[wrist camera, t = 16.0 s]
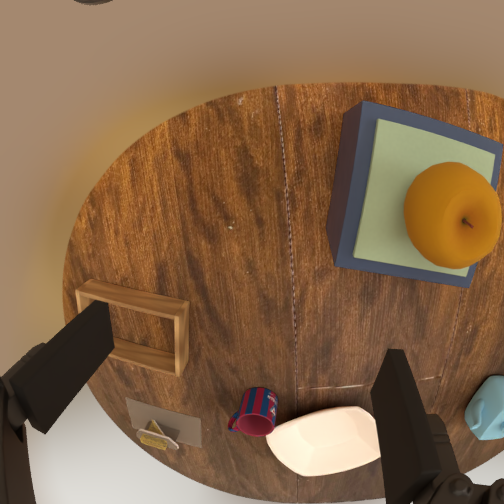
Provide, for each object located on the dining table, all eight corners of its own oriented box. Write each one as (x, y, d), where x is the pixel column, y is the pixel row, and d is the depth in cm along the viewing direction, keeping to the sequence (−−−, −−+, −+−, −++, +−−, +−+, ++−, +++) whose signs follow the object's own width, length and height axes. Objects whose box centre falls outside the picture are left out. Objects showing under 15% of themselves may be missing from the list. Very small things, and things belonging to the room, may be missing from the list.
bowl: (300, 463, 62) (299, 481, 57) (255, 411, 57) (251, 430, 52) (390, 438, 56) (393, 456, 51) (362, 377, 51) (365, 397, 46)
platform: (125, 397, 63) (112, 416, 57) (200, 418, 61) (192, 441, 54) (132, 427, 67) (122, 446, 61) (201, 447, 65) (194, 468, 59)
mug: (284, 405, 56) (281, 431, 49) (240, 417, 59) (233, 442, 52) (267, 382, 54) (262, 409, 48) (222, 396, 57) (213, 422, 51)
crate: (343, 113, 38) (362, 100, 25) (450, 140, 36) (503, 144, 23) (325, 228, 44) (334, 266, 31) (428, 247, 42) (469, 288, 29)
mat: (376, 119, 25) (378, 118, 25) (491, 154, 24) (495, 154, 23) (352, 254, 30) (353, 257, 29) (463, 274, 28) (466, 277, 28)
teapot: (469, 367, 47) (491, 407, 37) (523, 372, 46) (545, 404, 35) (440, 412, 52) (453, 452, 41) (495, 412, 50) (511, 446, 40)
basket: (90, 278, 53) (75, 289, 48) (189, 301, 51) (179, 316, 46) (98, 334, 57) (85, 348, 53) (188, 360, 55) (179, 377, 51)
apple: (473, 166, 24) (526, 179, 16) (459, 250, 27) (502, 288, 19) (395, 150, 25) (433, 155, 17) (383, 241, 28) (412, 281, 20)
